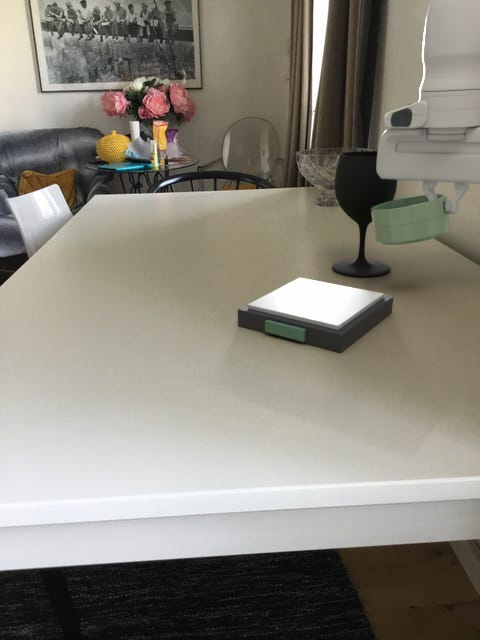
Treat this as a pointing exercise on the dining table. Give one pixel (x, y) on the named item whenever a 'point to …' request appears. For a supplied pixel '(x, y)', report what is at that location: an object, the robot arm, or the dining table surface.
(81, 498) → the dining table surface
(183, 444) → the dining table surface
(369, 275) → the wine glass
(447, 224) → the bowl
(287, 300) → the scale
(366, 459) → the dining table surface
